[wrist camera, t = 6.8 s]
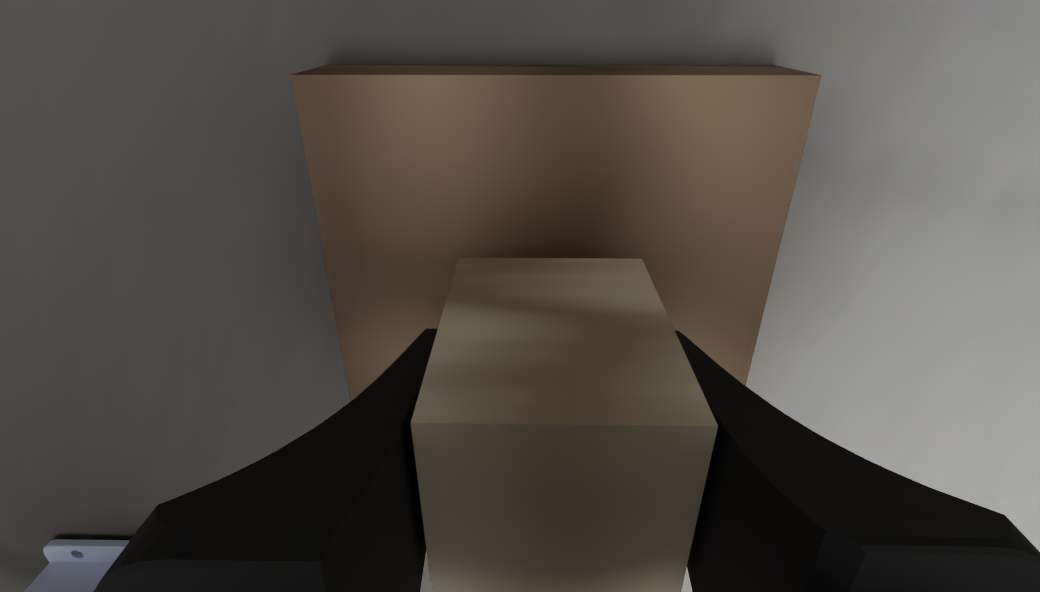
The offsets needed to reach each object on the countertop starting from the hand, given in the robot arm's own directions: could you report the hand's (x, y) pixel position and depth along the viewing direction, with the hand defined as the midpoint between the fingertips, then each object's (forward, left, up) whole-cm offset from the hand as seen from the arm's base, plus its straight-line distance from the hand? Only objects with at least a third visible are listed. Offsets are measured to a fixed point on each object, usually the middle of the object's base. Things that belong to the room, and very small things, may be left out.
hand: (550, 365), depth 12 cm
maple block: (0, 0, -2) cm, 2 cm away
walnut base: (0, 0, -5) cm, 5 cm away
